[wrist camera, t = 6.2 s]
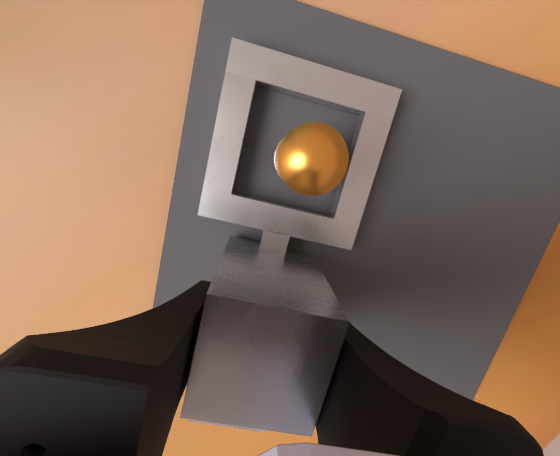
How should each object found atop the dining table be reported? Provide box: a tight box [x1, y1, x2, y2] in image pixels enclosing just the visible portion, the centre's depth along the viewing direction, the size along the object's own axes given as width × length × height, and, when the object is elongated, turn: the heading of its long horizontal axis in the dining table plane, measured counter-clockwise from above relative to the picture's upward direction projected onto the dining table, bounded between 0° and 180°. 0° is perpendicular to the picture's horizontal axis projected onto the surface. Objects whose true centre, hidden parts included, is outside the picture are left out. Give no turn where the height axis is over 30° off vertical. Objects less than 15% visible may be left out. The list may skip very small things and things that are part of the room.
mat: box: [153, 0, 560, 400], centre depth 14 cm, size 19×19×1 cm
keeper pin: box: [271, 122, 349, 196], centre depth 10 cm, size 2×2×5 cm
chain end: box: [180, 37, 402, 437], centre depth 11 cm, size 18×7×6 cm, turn 166°
